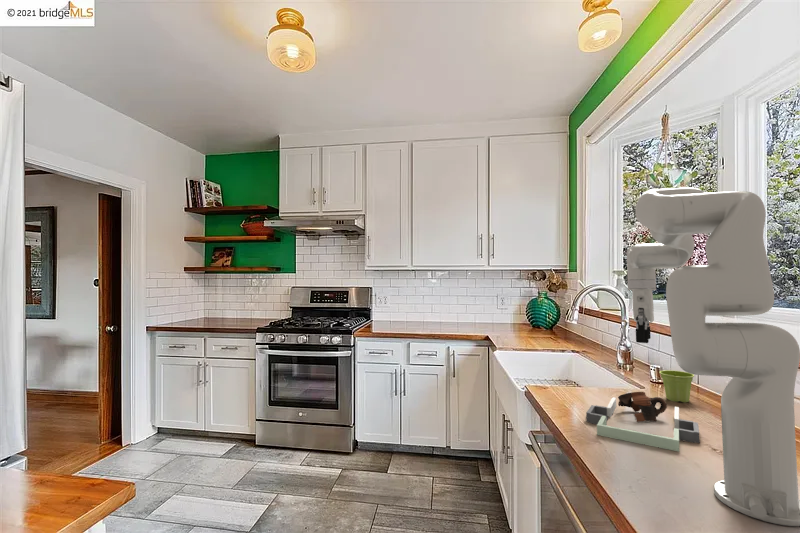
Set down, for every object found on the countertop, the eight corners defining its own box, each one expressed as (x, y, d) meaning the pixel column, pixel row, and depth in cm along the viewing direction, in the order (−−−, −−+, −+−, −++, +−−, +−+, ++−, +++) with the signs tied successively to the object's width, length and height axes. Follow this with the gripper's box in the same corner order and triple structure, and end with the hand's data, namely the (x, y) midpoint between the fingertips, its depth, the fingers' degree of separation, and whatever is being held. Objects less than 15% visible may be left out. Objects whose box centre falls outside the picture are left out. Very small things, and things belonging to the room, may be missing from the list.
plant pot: (653, 398, 128) (652, 371, 128) (671, 394, 132) (670, 368, 132) (684, 406, 120) (683, 378, 120) (701, 401, 124) (700, 374, 124)
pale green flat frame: (701, 456, 86) (700, 444, 86) (580, 431, 100) (579, 421, 100) (696, 418, 109) (696, 409, 109) (598, 403, 123) (598, 395, 123)
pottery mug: (626, 423, 107) (615, 393, 111) (624, 428, 114) (614, 400, 119) (675, 417, 103) (661, 386, 108) (670, 422, 110) (658, 393, 115)
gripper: (654, 286, 111) (656, 345, 111) (657, 285, 125) (659, 338, 125) (624, 286, 116) (626, 343, 115) (630, 285, 130) (632, 336, 129)
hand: (643, 340), depth 120 cm, fingers open, 9 cm apart
